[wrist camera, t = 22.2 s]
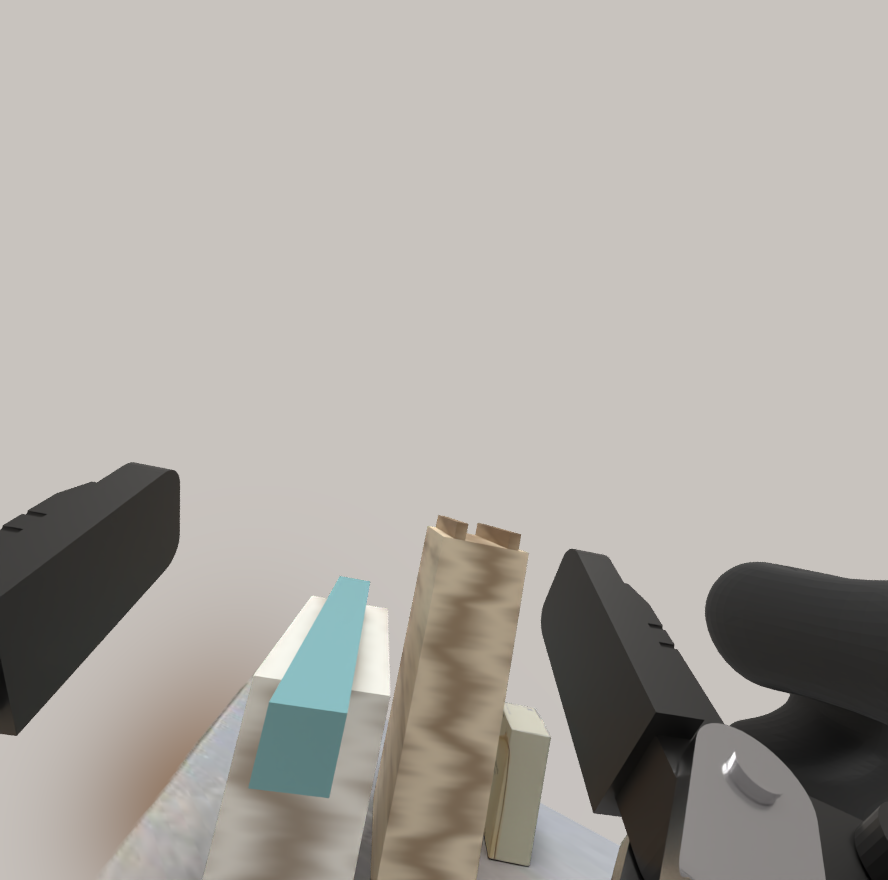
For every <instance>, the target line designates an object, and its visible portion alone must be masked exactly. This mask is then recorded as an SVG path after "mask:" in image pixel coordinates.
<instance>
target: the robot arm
mask: <svg viewBox="0 0 888 880" xmlns="http://www.w3.org/2000/svg"><path fill="white" fill-rule="evenodd" d="M179 535H180V479H179V475H178V474H177V472H176V471H174V470H170V469H165V468H160V467H155V466H149V465H144V464H139V463H134V462H133V463H132V462H131V463H128V464H126V465H124V466H122V467H121V468H119V469H118V470H116V471H114V472H113V473H111V474H110V475H108V476H107V477H105V478H103V479H102V480H100V481H99V482H97V483H96V482H90V483H87V484H84V485H81V486H77V487H74V488H71V489H69V490H65V491H63V492H59V493H57V494H55V495H53V496H52V497H50V498H48V499H46V500H45V501H43V502H41V503H40V504H38V505H36V506H35V507H33V508H31V509H30V510H28V512H27V514H26V515H25V514H21V515H19V516H18V517H16V518H14V519H13V520H11V521H10V522H8V523H6V524H4V525H3V527H2V529H1V530H0V734H7V735H14V736H17V735H18V734H19V733H20V732H21V731H22V729H23V728H24V727H25V726H26V725H27V724H28V723H29V722H30V720H31V719H32V718H33V717H34V716H35V715H36V714H37V713H38V712H39V710H40V709H41V708H42V707H43V706H44V705H45V704H46V703H47V701H48V700H49V699H50V698H51V697H52V696H53V695H54V694H55V693H56V692H57V690H58V689H59V688H60V687H61V686H62V685H63V684H64V683H65V681H66V680H67V679H68V678H69V677H70V676H71V675H72V674H73V673H74V671H75V670H76V669H77V668H78V667H79V666H80V664H82V662H83V661H84V660H85V659H86V658H87V657H88V656H89V655H90V653H91V652H92V651H93V650H94V649H95V648H96V647H97V645H99V644H100V642H101V641H102V640H103V639H104V638H105V637H106V635H108V633H109V632H110V631H111V630H112V629H113V628H114V627H115V626H116V625H117V623H118V622H119V621H120V620H121V619H122V618H123V617H124V616H125V615H126V613H127V612H128V611H129V610H130V609H131V608H132V607H133V605H134V604H135V603H136V602H137V601H138V600H139V599H140V598H141V597H142V595H143V594H144V593H145V592H146V591H147V590H148V589H149V588H150V587H151V585H152V584H153V583H154V582H155V581H156V580H157V579H158V578H159V577H160V575H161V574H162V573H163V572H164V571H165V569H166V568H167V567H168V566H169V564H170V563H171V561H172V559H173V557H174V555H175V553H176V550H177V547H178V543H179ZM705 617H706V623H707V627H708V631H709V633H710V636H711V639H712V641H713V643H714V645H715V646H716V648H717V650H718V652H719V653H720V654H721V656H722V657H723V658H724V660H725V661H726V662H727V663H728V664H729V665H730V666H731V667H732V668H733V669H734V670H735V671H736V672H738V673H739V674H740V675H742V676H743V677H744V678H746V679H747V680H749V681H751V682H753V683H755V684H758V685H760V686H763V687H766V688H770V689H773V690H777V691H782V692H786V693H790V697H789V699H788V701H787V702H786V703H785V704H784V705H783V706H781V707H780V708H779V709H777V710H775V711H773V712H771V713H769V714H766V715H763V716H760V717H756V718H750V719H745V720H740V721H737V722H734V723H733V724H731V725H730V726H728V725H725V724H724V723H723V721H722V720H721V718H720V717H719V715H718V713H717V712H716V710H715V708H714V707H713V705H712V704H711V702H710V701H709V699H708V697H707V696H706V694H705V692H704V691H703V690H702V688H701V686H700V684H699V683H698V681H697V680H696V678H695V677H694V675H693V674H692V672H691V670H690V669H689V667H688V665H687V664H686V662H685V661H684V659H683V657H682V656H681V654H680V653H679V651H678V650H677V649H674V643H673V642H672V640H671V639H670V637H669V636H668V634H667V632H666V631H665V630H663V629H662V624H661V622H660V621H659V619H658V618H657V616H656V614H655V613H654V611H653V610H652V608H651V606H650V605H649V604H648V603H647V602H646V601H645V600H644V599H643V598H642V597H641V596H640V595H639V594H638V593H637V592H636V591H635V590H634V589H633V588H632V587H631V586H630V585H629V584H626V583H624V582H623V581H622V579H621V577H620V576H619V574H618V572H617V570H616V569H615V567H614V566H613V564H612V562H611V560H610V559H609V558H608V557H607V556H605V555H602V554H596V553H591V552H586V551H581V550H576V549H569V550H568V551H567V552H566V553H565V555H564V557H563V559H562V561H561V564H560V566H559V569H558V571H557V573H556V576H555V578H554V581H553V583H552V585H551V588H550V590H549V593H548V595H547V597H546V600H545V602H544V605H543V609H542V616H541V629H542V635H543V638H544V642H545V645H546V649H547V653H548V656H549V660H550V662H551V667H552V670H553V673H554V677H555V681H556V684H557V688H558V691H559V695H560V698H561V702H562V705H563V709H564V712H565V715H566V719H567V722H568V726H569V729H570V733H571V736H572V740H573V743H574V747H575V750H576V754H577V757H578V761H579V764H580V768H581V771H582V774H583V778H584V782H585V785H586V789H587V792H588V796H589V799H590V803H591V806H592V810H593V813H596V814H604V815H612V816H620V817H622V820H623V823H624V825H625V829H626V831H627V835H626V837H625V838H624V840H623V841H622V843H621V846H620V848H619V852H618V856H617V859H616V863H615V867H614V871H613V875H612V878H611V880H888V580H887V581H885V580H883V581H882V580H880V581H879V580H860V579H848V578H842V577H838V576H833V575H829V574H824V573H819V572H814V571H809V570H804V569H799V568H794V567H788V566H783V565H778V564H772V563H766V562H749V563H744V564H740V565H738V566H735V567H733V568H731V569H730V570H728V571H726V572H725V573H724V574H722V575H721V576H720V577H719V578H718V580H717V581H716V582H715V583H714V584H713V586H712V588H711V590H710V592H709V594H708V597H707V600H706V607H705Z"/></svg>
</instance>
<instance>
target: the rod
mask: <svg viewBox="0 0 888 880" xmlns="http://www.w3.org/2000/svg"><path fill="white" fill-rule="evenodd" d="M369 586H370V581H364V580H358V579H353V578H347V577H341V576H340V577H339V579H338V581H337V582H336V584H335V586H334V588H333V589H332V591H331V593H330V595H329V597H328V598H327V600H326V602H325V604H324V605H323V607H322V609H321V611H320V612H319V614H318V616H317V618H316V620H315V621H314V623H313V625H312V627H311V628H310V630H309V632H308V634H307V636H306V637H305V639H304V641H303V643H302V644H301V646H300V648H299V650H298V652H297V653H296V655H295V657H294V659H293V660H292V662H291V664H290V666H289V668H288V669H287V671H286V673H285V675H284V676H283V678H282V680H281V682H280V683H279V685H278V687H277V689H276V691H275V692H274V694H273V696H272V698H271V699H270V701H269V704H268V708H267V712H266V717H265V721H264V725H263V729H262V733H261V737H260V741H259V745H258V750H257V754H256V758H255V762H254V766H253V770H252V774H251V778H250V783H249V787H248V788H249V789H257V790H265V791H274V792H282V793H290V794H298V795H306V796H315V797H323V798H329V797H330V792H331V787H332V783H333V778H334V773H335V769H336V764H337V759H338V755H339V750H340V745H341V741H342V736H343V732H344V727H345V722H346V718H347V713H348V707H349V701H350V695H351V690H352V684H353V678H354V672H355V666H356V661H357V655H358V649H359V643H360V638H361V632H362V626H363V620H364V614H365V609H366V603H367V597H368V591H369Z"/></svg>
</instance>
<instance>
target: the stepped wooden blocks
mask: <svg viewBox="0 0 888 880" xmlns="http://www.w3.org/2000/svg"><path fill="white" fill-rule="evenodd" d="M467 528H468V524H467V523H464V522H460V521H458V520H455V519H452V518H449V517H445V516H440V515H439V516H438V519H437V524H436V527H431V526H428V527H427V532H426V538H425V542H424V547H423V552H422V557H421V562H420V567H419V572H418V577H417V582H416V587H415V592H414V598H413V602H412V607H411V612H410V617H409V623H408V628H407V633H406V637H405V643H404V647H403V653H402V657H401V663H400V667H399V672H398V677H397V683H396V687H395V693H394V697H393V702H392V707H391V712H390V718H389V722H388V727H387V732H386V737H385V742H384V747H383V752H382V757H381V762H380V767H379V772H378V777H377V782H376V787H375V792H374V797H373V824H372V851H371V878H370V880H476V877H477V871H478V865H479V859H480V853H481V846H482V840H483V834H484V828H485V822H486V815H487V809H488V803H489V797H490V791H491V784H492V778H493V772H494V766H495V760H496V753H497V747H498V741H499V735H500V729H501V722H502V716H503V710H504V704H505V697H506V691H507V685H508V679H509V672H510V667H511V660H512V654H513V647H514V642H515V636H516V629H517V623H518V617H519V611H520V604H521V598H522V592H523V586H524V579H525V574H526V567H527V561H528V555H529V553H527V552H525V551H522V550H520V549H519V544H520V538H521V534H518V533H514V532H511V531H507V530H503V529H500V528H496V527H493V526H489V525H485V524H481V523H478V524H477V529H476V535H472V534H467ZM326 600H327V598H322V597H317V596H311V598H310V599H309V600H308V602H307V603H306V604H305V606H304V607H303V608H302V610H301V612H300V613H299V614H298V616H297V617H296V618H295V619H294V621H293V622H292V624H291V625H290V626H289V628H288V629H287V630H286V632H285V633H284V634H283V636H282V637H281V639H280V640H279V641H278V643H277V644H276V645H275V647H274V648H273V650H272V651H271V652H270V654H269V655H268V656H267V658H266V659H265V661H264V662H263V663H262V664H261V666H260V667H259V669H258V670H257V671H256V673H255V674H254V675H253V679H252V683H251V687H250V691H249V695H248V699H247V703H246V707H245V711H244V715H243V719H242V723H241V727H240V731H239V735H238V739H237V743H236V747H235V751H234V755H233V759H232V763H231V767H230V771H229V775H228V779H227V783H226V787H225V791H224V795H223V799H222V803H221V807H220V811H219V815H218V819H217V823H216V827H215V831H214V835H213V839H212V843H211V847H210V851H209V855H208V859H207V863H206V867H205V871H204V875H203V879H202V880H353V879H354V874H355V869H356V864H357V859H358V854H359V849H360V844H361V839H362V834H363V829H364V824H365V819H366V814H367V809H368V805H369V800H370V795H371V790H372V785H373V780H374V775H375V770H376V765H377V760H378V755H379V750H380V745H381V740H382V735H383V730H384V725H385V720H386V715H387V710H388V704H389V700H390V667H389V632H388V609H386V608H380V607H374V606H369V605H366V609H365V614H364V620H363V626H362V632H361V638H360V643H359V649H358V655H357V661H356V666H355V672H354V678H353V684H352V690H351V695H350V701H349V707H348V713H347V718H346V722H345V727H344V732H343V736H342V741H341V745H340V750H339V755H338V759H337V764H336V769H335V773H334V778H333V783H332V787H331V792H330V797H329V798H323V797H315V796H306V795H298V794H290V793H282V792H274V791H265V790H257V789H249V788H248V787H249V783H250V778H251V774H252V770H253V766H254V762H255V758H256V754H257V750H258V745H259V741H260V737H261V733H262V729H263V725H264V721H265V717H266V712H267V708H268V704H269V701H270V699H271V698H272V696H273V694H274V692H275V691H276V689H277V687H278V685H279V683H280V682H281V680H282V678H283V676H284V675H285V673H286V671H287V669H288V668H289V666H290V664H291V662H292V660H293V659H294V657H295V655H296V653H297V652H298V650H299V648H300V646H301V644H302V643H303V641H304V639H305V637H306V636H307V634H308V632H309V630H310V628H311V627H312V625H313V623H314V621H315V620H316V618H317V616H318V614H319V612H320V611H321V609H322V607H323V605H324V604H325V602H326Z"/></svg>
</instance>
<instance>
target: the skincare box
mask: <svg viewBox="0 0 888 880" xmlns="http://www.w3.org/2000/svg"><path fill="white" fill-rule="evenodd" d="M550 739H551V736H550V734H549V732H548V730H547V728H546V726H545V724H544V722H543V720H542V719H541V717H540V715H539V713H538V712H537V710H536V708H531V707H527V706H522V705H517V704H512V703H507V702H505V704H504V710H503V716H502V722H501V729H500V735H499V741H498V747H497V753H496V760H495V766H494V772H493V778H492V784H491V791H490V797H489V803H488V809H487V815H486V822H485V828H484V836H485V842H486V847H487V852H488V857H489V858H491V859H496V860H500V861H505V862H510V863H515V864H520V865H525V866H529V865H530V859H531V853H532V847H533V841H534V835H535V829H536V823H537V817H538V811H539V805H540V799H541V793H542V787H543V781H544V775H545V769H546V763H547V757H548V752H549V745H550Z"/></svg>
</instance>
